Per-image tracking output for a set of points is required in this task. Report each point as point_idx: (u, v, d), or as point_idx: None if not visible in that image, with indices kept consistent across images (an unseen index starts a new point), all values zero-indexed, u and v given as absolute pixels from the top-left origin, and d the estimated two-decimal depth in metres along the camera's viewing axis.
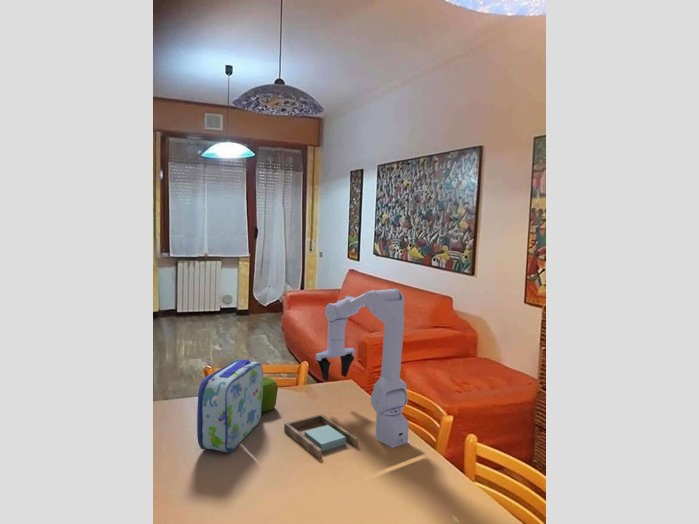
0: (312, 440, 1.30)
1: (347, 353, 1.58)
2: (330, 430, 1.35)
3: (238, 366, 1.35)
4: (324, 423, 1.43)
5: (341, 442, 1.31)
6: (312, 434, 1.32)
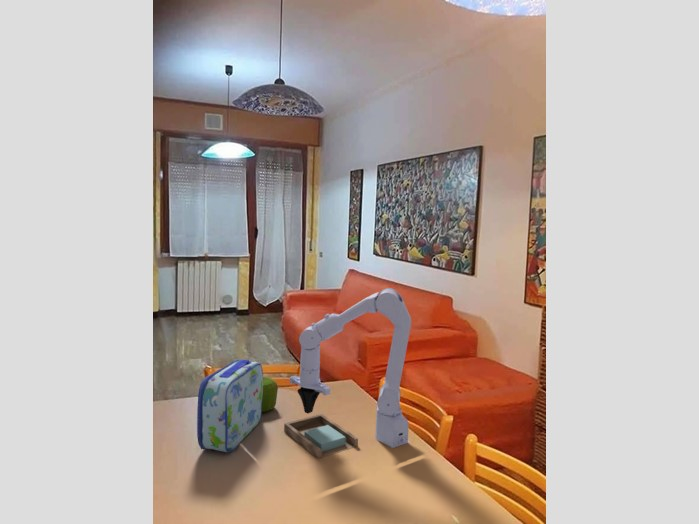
0: (312, 440, 1.30)
1: (313, 389, 1.35)
2: (330, 430, 1.35)
3: (238, 366, 1.35)
4: (324, 423, 1.43)
5: (341, 442, 1.31)
6: (312, 434, 1.32)
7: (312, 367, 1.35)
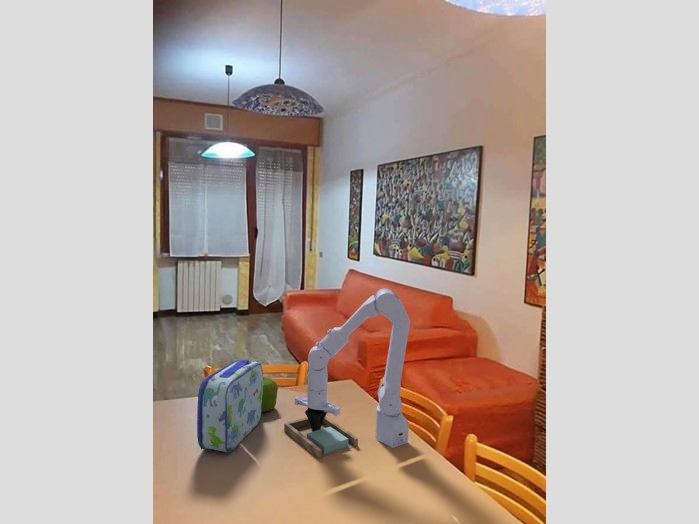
0: (315, 442, 1.29)
1: (323, 410, 1.32)
2: (333, 432, 1.34)
3: (238, 366, 1.35)
4: (324, 423, 1.43)
5: (344, 444, 1.30)
6: (314, 436, 1.31)
7: (321, 388, 1.33)
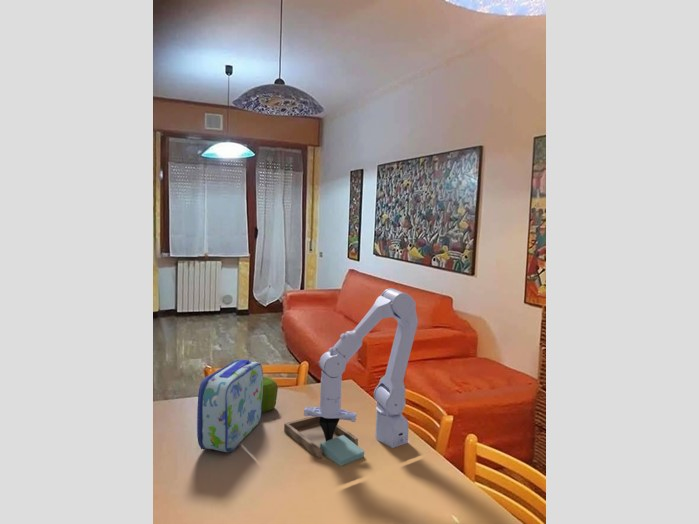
0: (330, 454, 1.23)
1: (340, 418, 1.27)
2: (347, 442, 1.28)
3: (238, 366, 1.35)
4: None
5: (360, 457, 1.24)
6: (329, 446, 1.25)
7: (338, 395, 1.28)
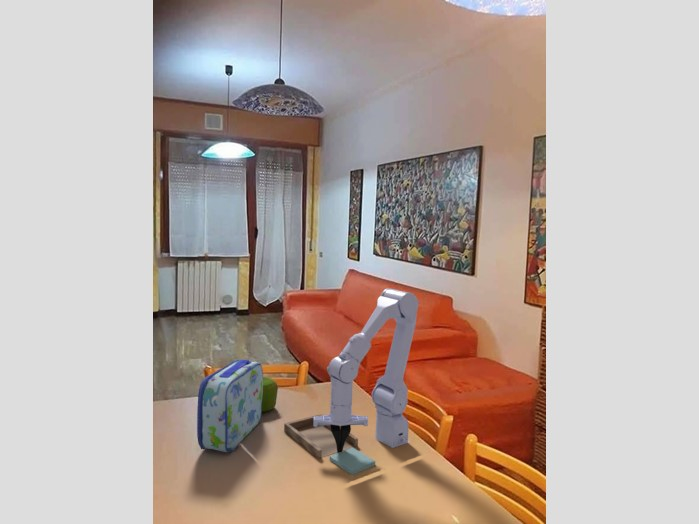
0: (340, 466, 1.20)
1: (354, 423, 1.24)
2: (357, 454, 1.25)
3: (238, 366, 1.35)
4: None
5: None
6: (338, 459, 1.22)
7: (350, 400, 1.24)
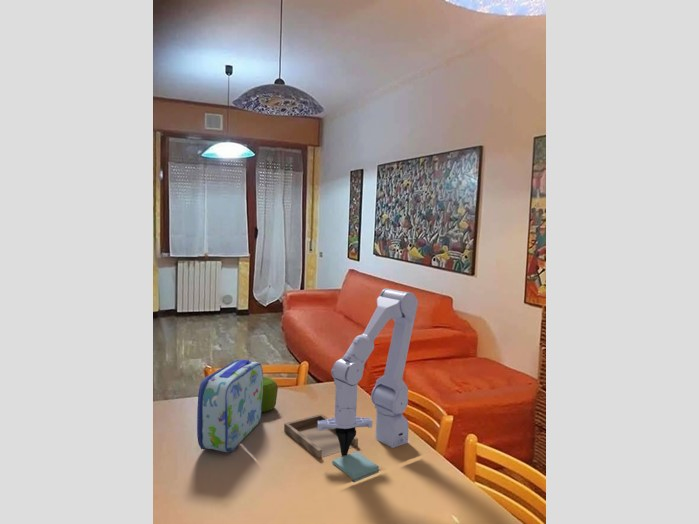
0: (342, 470, 1.18)
1: (359, 425, 1.23)
2: (360, 458, 1.23)
3: (238, 366, 1.35)
4: None
5: (374, 472, 1.18)
6: (341, 463, 1.20)
7: (356, 403, 1.23)
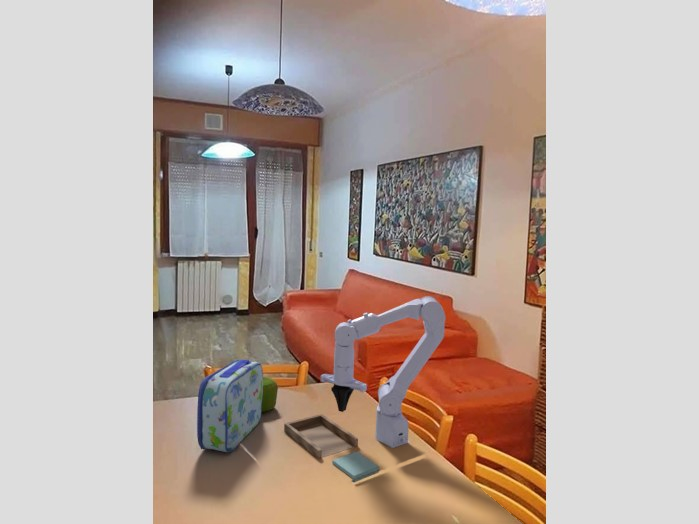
0: (342, 470, 1.18)
1: (350, 386, 1.32)
2: (360, 458, 1.23)
3: (238, 366, 1.35)
4: (324, 423, 1.43)
5: (374, 472, 1.18)
6: (341, 463, 1.20)
7: (348, 364, 1.32)
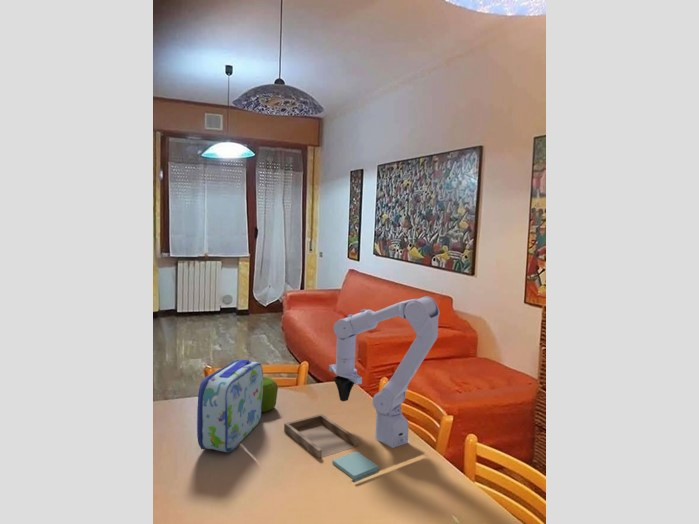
0: (342, 470, 1.18)
1: (346, 377, 1.39)
2: (360, 458, 1.23)
3: (238, 366, 1.35)
4: (324, 423, 1.43)
5: (374, 472, 1.18)
6: (341, 463, 1.20)
7: (344, 356, 1.40)
